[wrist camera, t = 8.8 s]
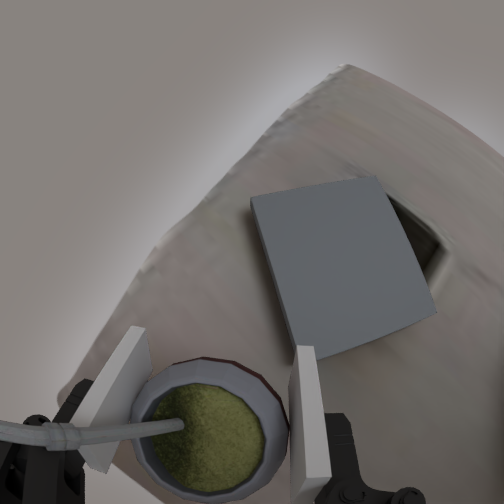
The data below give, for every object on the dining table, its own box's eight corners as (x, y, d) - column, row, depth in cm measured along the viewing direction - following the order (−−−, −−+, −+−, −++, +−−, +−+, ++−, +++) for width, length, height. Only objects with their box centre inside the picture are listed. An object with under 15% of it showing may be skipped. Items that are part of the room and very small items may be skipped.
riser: (421, 319, 30) (437, 312, 27) (295, 366, 28) (301, 365, 25) (366, 191, 37) (375, 175, 34) (250, 214, 35) (250, 197, 32)
